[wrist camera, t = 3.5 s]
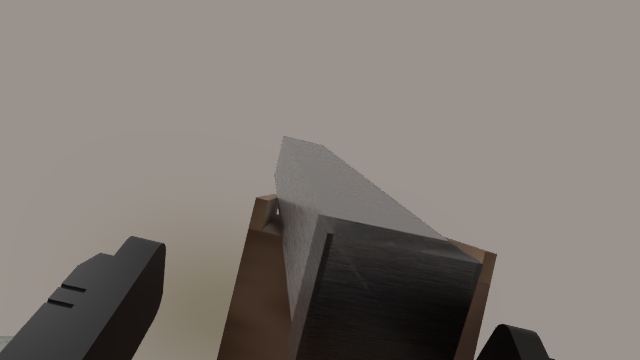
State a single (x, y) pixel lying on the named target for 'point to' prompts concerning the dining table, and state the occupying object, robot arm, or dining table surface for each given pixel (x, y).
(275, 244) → the stand
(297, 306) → the steel bar
